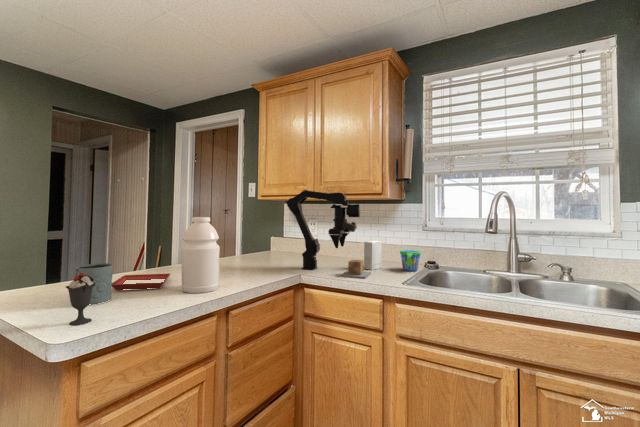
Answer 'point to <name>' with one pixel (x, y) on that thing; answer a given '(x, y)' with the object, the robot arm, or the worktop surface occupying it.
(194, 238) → the bottle
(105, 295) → the blue-grey pot
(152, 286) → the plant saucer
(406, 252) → the snack cup
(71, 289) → the sundae
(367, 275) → the slate mat
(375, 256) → the skincare box
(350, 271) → the walnut cube
